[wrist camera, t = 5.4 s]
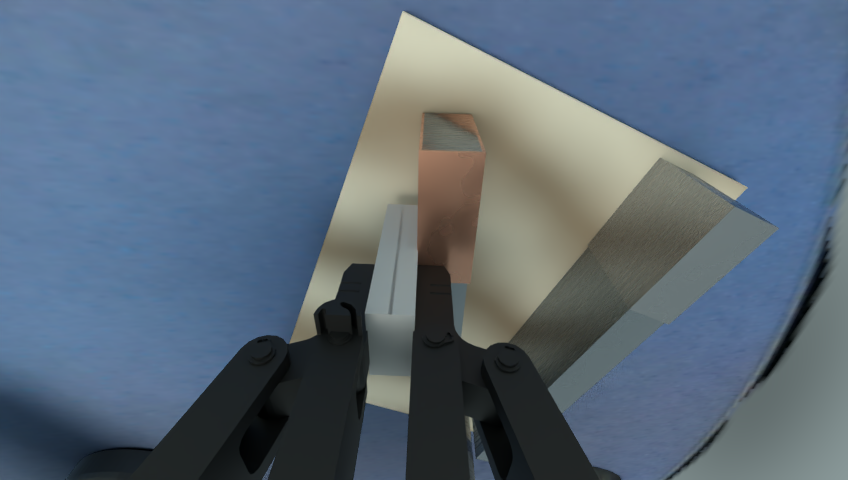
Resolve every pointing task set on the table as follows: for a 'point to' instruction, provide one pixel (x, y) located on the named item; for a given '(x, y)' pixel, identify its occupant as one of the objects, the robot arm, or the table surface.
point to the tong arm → (449, 198)
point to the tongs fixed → (634, 280)
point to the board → (486, 182)
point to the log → (606, 474)
